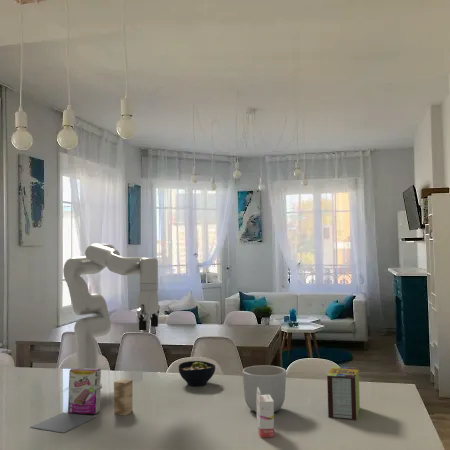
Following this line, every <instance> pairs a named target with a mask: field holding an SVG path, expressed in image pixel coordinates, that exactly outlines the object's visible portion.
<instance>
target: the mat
mask: <svg viewBox="0 0 450 450" xmlns="http://www.w3.org/2000/svg"><path fill="white" fill-rule="evenodd" d="M93 419H96V416H92V415H91V416H90V415H85V414H79V413H68V412H63V411H62V412H60V413H58V414H56V415H54V416H52V417H49V418H47V419H44V420H42V421H40V422H38V423H36V424H33V425H32V426H30V427H29V428H30V429H37V430H43V431H49V432H54V433H60V434H61V433H62V434H65V433H67V432H69V431H71V430H73V429H75V428H78V427H79V426H82V425H83V424H85V423H87V422H89V421H91V420H93Z"/></svg>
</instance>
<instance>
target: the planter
mask: <svg viewBox="0 0 450 450" xmlns="http://www.w3.org/2000/svg"><path fill="white" fill-rule="evenodd" d="M286 378H287V370H286V368H283V367H280V366H278V365H277V366H275V365H266V364H265V365H263V364H262V365H252V366H248V367H247V366H246V367H244V368H243V369H242V383H243V395H244V401H245V404H246V405H247V407H248V408H249V409H250V410H252V412H255V413H257V387H258V388H259V390H260V392H261V395H270V396H271V398H272V399H273V401H274V413H276V412H277V411H279V410H280V409H281V408H282V407H283V405H284V403H285V398H286V381H287V379H286ZM258 394H259V392H258Z"/></svg>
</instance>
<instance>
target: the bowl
mask: <svg viewBox="0 0 450 450" xmlns="http://www.w3.org/2000/svg"><path fill="white" fill-rule="evenodd" d="M215 372H216V365H215V364H214V363H212V362H207V361H202V360H201V361H200V360H189V361H183V362H182V363H180V364H178V373H179V375H180V377H181V378H182V379H183V380H184V381H185V382H186V384H187V386H189V387H194V388H198V387H199V388H200V387H204V386H206V385H207V383H208V382H209V381H210V380H211V378H212V377H213V376H214V374H215Z"/></svg>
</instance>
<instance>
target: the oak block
mask: <svg viewBox="0 0 450 450" xmlns="http://www.w3.org/2000/svg"><path fill="white" fill-rule="evenodd" d="M113 395H114V396H113V413H114V415H120V414H121V416H127V415H128V414H131V413H132V412H133V380H132V379H127V378H126V379H125V378H121V379H118V380H116V381H113ZM131 411H132V412H131Z"/></svg>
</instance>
